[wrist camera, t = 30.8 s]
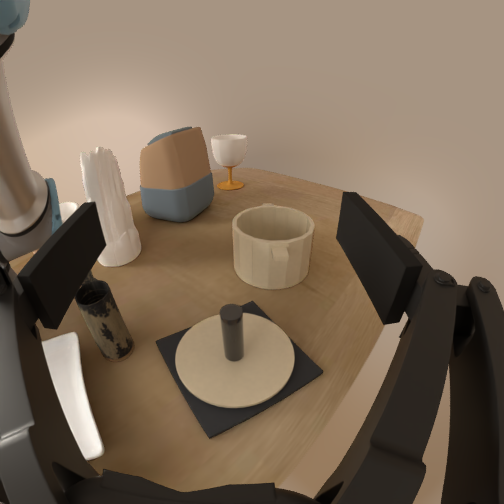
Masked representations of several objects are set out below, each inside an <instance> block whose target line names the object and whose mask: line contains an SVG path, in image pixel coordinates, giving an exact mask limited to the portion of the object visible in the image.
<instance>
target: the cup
mask: <svg viewBox="0 0 504 504" xmlns="http://www.w3.org/2000/svg"><path fill="white" fill-rule="evenodd" d="M211 144H212V151H213V155H214V159H215V160H216V162H217V163H218V164H219V165H221V166H223V167H227V168H228V172H229V181H225V182H221V183H219V184H218V185H217V187H218V188H219V189H223V190H236V189H240V188H242V187H243V186H244V185H243V183H241V182H238V181H232V168H233V167H235V166H237V165H239V164H241V163H242V161H243V159H244V158H245V155H246V148H247V136H245V135H239V134H227V135H218V136H214V137H212V138H211Z"/></svg>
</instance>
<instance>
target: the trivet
mask: <svg viewBox="0 0 504 504" xmlns="http://www.w3.org/2000/svg"><path fill="white" fill-rule="evenodd" d="M240 307H241V308H242V310H243V313H248V314H254V315H257V316H260V317H263V318H265V319H268V320H269V321H271V322H273V321H272V320H271V319H270V318H269V317H268V316H267V315H266V314H265V313H264V312H263V311H262V310H261V309H260V308H259V307H258V306H257V305H256V304H255V303H254V302H253V301H251V302H249V303H247V304H244V305H242V306H240ZM273 323H274V322H273ZM274 324H275V323H274ZM192 327H193V326H192ZM192 327H190V328H192ZM190 328H187V329H185V330H182V331H180V332H177V333H175V334H172V335H170V336H167V337H165V338H162V339H160V340H157V341H156V344H157V346H158V348H159V350H160V352H161V354H162V356H163V358H164V360H165V362H166V364H167V366H168V368H169V370H170V372H171V374H172V376H173V377H174V379H175V381H176V383H177V385H178V387H179V389H180V390H181V392H182V394H183V396H184V398H185V399H186V401H187V403H188V405H189V406H190V408H191V410H192V411H193V413H194V415H195V416H196V418H197V420H198V421H199V423H200V425H201V426H202V428H203V429H204V431H205V433H206V434H207V436H208V437H209V439H210V438H212V437H214V436H216V435H218V434H220V433H222V432H224V431H226V430H228V429H230V428H232V427H234V426H236V425H238V424H240V423H242V422H244V421H246V420H248V419H250V418H251V417H253V416H255V415H257V414H259V413H260V412H262V411H264V410H266V409H267V408H269V407H271V406H272V405H274V404H276V403H278V402H279V401H281V400H282V399H284V398H286V397H287V396H289V395H291V394H292V393H294V392H295V391H297V390H298V389H300V388H302V387H303V386H305V385H306V384H308V383H309V382H311V381H312V380H314V379H315V378H317V377H318V376H320V375H321V374H322V373H323V370H322V369H321V368H320V367H319V366H318V365H316V364H315V363H314V362H313V361H312V360H311V359H310V358H309V357H308V356H307V355H306V354H305V353H304V352H303V351H302V350H301V349H300V348H299V347H298V346H297V345H296V344H295V343H294V342H293V341H292V340H291V339H290V338H289V337H288V338H289V339H290V341H291V343H292V346H293V349H294V356H295V360H294V367H293V371H292V374H291V376H290V379H289V380H288V382H287V383H286V385H285V386H284V387H283V388H282V389H281V390H280V391H279V392H278V393H277V394H276V395H274V396H273V397H271V398H270V399H268V400H266V401H264V402H262V403H260V404H257V405H254V406H249V407H244V408H224V407H218V406H215V405H211V404H209V403H206V402H204V401H202V400H200V399H199V398H197V397H196V396H194V395H193V394H192V393H191V392H189V390H188V389H187V388H186V387H185V386H184V384H183V383H182V381H181V380H180V377H179V375H178V373H177V369H176V363H175V356H176V351H177V347H178V345H179V342H180V341H181V339H182V337H183V336H184V335H185V334H186V332H187V331H188V330H189V329H190Z"/></svg>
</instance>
